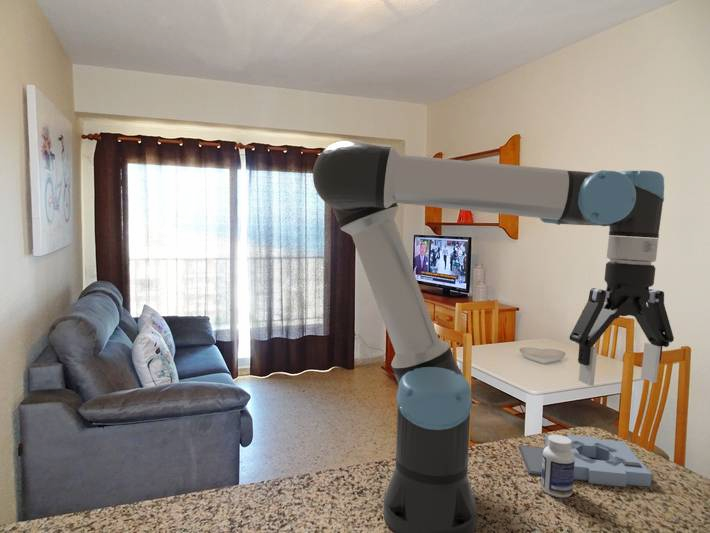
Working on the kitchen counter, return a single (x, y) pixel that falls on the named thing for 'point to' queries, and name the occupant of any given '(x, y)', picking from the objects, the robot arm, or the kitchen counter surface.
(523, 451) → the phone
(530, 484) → the kitchen counter surface
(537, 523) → the kitchen counter surface
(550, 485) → the pill bottle
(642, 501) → the kitchen counter surface
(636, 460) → the dock
